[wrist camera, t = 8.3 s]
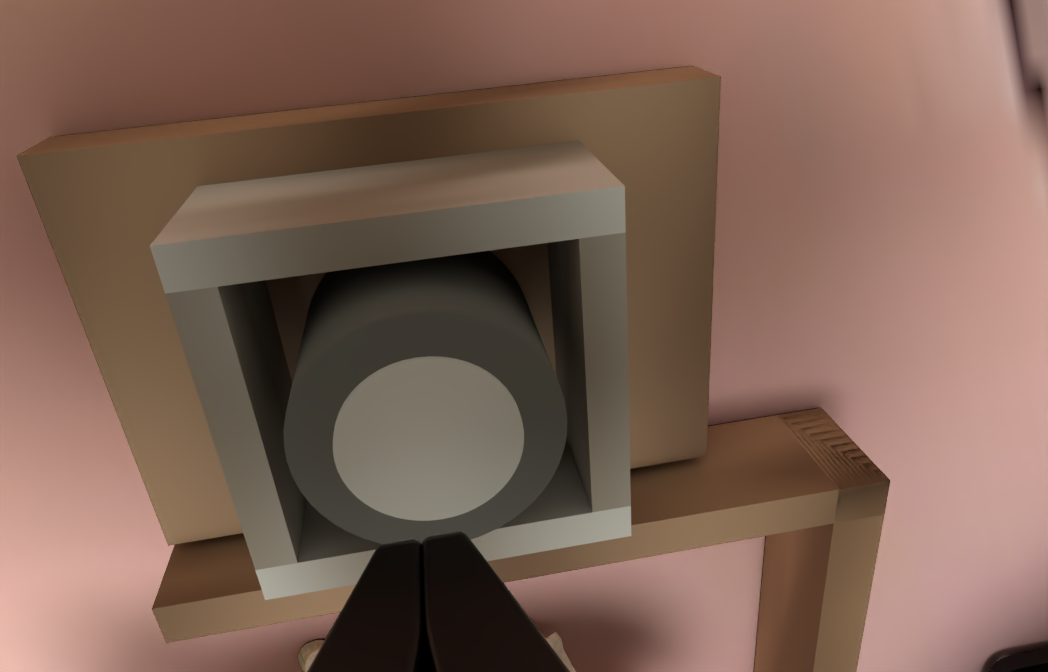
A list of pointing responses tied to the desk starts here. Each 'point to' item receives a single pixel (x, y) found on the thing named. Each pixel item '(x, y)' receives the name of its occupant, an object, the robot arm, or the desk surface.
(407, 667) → the robot arm
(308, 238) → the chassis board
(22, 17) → the desk surface
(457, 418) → the cylinder
